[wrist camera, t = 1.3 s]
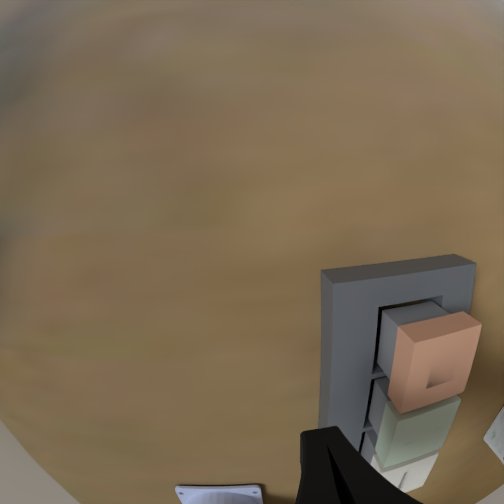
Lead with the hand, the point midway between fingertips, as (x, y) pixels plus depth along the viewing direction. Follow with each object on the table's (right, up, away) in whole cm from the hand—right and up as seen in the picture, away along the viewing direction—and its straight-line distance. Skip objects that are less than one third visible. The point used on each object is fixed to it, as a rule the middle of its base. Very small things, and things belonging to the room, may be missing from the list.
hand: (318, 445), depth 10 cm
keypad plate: (+7, -2, +10) cm, 13 cm away
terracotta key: (+7, +2, +7) cm, 10 cm away
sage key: (+7, -3, +8) cm, 11 cm away
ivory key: (+8, -7, +9) cm, 14 cm away
